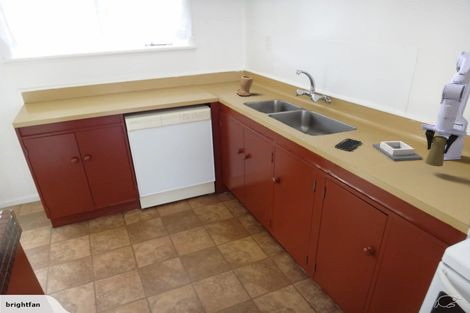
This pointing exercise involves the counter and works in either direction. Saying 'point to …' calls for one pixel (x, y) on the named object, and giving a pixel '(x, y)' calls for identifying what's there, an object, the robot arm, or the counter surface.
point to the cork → (437, 151)
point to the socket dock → (397, 150)
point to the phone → (348, 144)
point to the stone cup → (245, 85)
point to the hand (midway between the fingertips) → (437, 150)
